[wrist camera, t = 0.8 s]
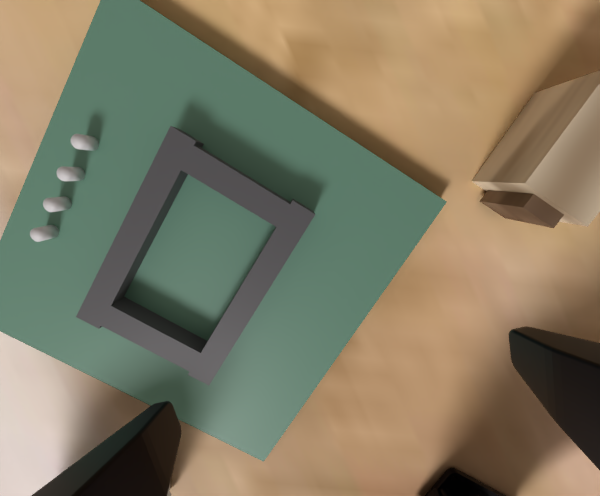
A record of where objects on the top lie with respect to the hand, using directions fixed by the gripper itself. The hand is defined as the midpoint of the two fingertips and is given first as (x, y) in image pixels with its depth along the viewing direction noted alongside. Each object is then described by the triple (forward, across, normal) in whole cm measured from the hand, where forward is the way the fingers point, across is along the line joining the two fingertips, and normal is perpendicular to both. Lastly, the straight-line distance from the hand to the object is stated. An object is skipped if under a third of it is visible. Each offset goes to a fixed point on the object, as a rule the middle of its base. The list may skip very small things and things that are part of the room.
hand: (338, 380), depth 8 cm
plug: (+13, -14, -3) cm, 20 cm away
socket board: (+13, +7, -2) cm, 15 cm away
